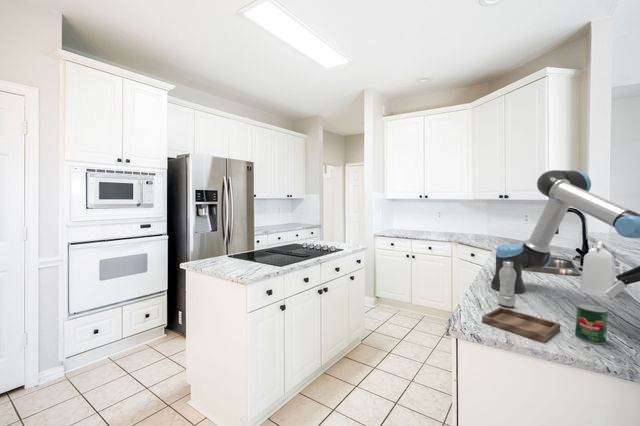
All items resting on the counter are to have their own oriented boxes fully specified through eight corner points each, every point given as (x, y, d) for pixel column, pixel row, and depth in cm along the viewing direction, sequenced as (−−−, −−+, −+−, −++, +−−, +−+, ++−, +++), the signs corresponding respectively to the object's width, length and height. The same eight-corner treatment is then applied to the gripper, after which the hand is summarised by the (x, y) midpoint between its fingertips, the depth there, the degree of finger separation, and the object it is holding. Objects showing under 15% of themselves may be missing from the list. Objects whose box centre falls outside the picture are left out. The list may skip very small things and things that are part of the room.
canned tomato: (581, 341, 99) (582, 309, 98) (570, 331, 106) (572, 301, 106) (611, 346, 96) (613, 313, 95) (598, 335, 103) (600, 304, 103)
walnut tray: (482, 322, 114) (482, 316, 113) (500, 312, 123) (500, 307, 123) (544, 343, 98) (544, 336, 97) (560, 330, 107) (560, 323, 107)
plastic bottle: (509, 309, 127) (512, 263, 126) (494, 304, 133) (496, 260, 132) (518, 307, 130) (520, 262, 129) (503, 302, 136) (504, 259, 135)
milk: (611, 297, 143) (615, 244, 142) (580, 291, 152) (583, 241, 150) (614, 292, 151) (617, 242, 150) (584, 287, 160) (586, 239, 158)
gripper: (737, 278, 83) (672, 326, 86) (651, 259, 108) (603, 297, 111) (716, 258, 84) (652, 307, 86) (636, 244, 108) (588, 283, 111)
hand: (624, 302), depth 99 cm, fingers open, 13 cm apart
